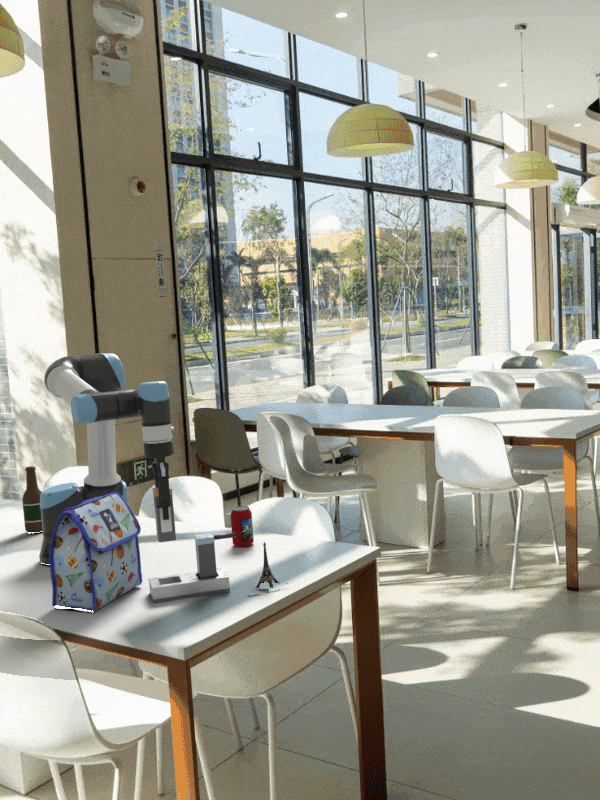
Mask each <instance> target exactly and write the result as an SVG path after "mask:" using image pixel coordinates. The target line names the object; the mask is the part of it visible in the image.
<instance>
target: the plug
mask: <svg viewBox="0 0 600 800" xmlns="http://www.w3.org/2000/svg"><path fill="white" fill-rule="evenodd" d="M169 490H170V502H171V506H170V511H171V522H172V531H170V532H163V533H162V532H161V521H160V509H159V508H157V506H160V501H159V490H158V487H152V494H153V502H154V503H153V504H154V505H153V506H154V515H155V517H154V518H155V529H156V538H157V541H158V543H165V542H172V541H176V540H177V537H176V536H177V535H176V534H177V533H176V523H175V512H174V501H173V499H174V498H173V487H171V486H170V485H169ZM164 502H165V501H164Z"/></svg>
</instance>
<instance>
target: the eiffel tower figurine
mask: <svg viewBox="0 0 600 800" xmlns="http://www.w3.org/2000/svg"><path fill="white" fill-rule="evenodd" d="M262 546H263V566H262V572H261V575H260V576H259V580H258V583H257V585H256V587H255V588H259V587H260V584H261V583H264V582H265V583H269V586H270V588H271V587H272V588H273V584H272V583H278V582H279V581H278V580H277V579H276V577H275V576H274V575H275V574H274V573H272V570H271V568H270V566H269V561H268V552H267V547H266V546H267V544H266V542H265V541H264V542H263V543H262Z"/></svg>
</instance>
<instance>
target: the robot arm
mask: <svg viewBox="0 0 600 800" xmlns="http://www.w3.org/2000/svg"><path fill="white" fill-rule="evenodd" d="M43 379H44V380H43V381H44V385H45V387H46V389H47V391H48V392H49V393H51V394H52V396H53V397H54V396H55V397H56V398H61V399H63V400H64V401H65V402H66V403H68V404H69V405H70V413H71V416H72V419H73V421H74V422H75V423H77V424H86V430H87V431H86V437H87V439H86V440H87V465H88V466H87V468H88V470H87V471H88V473H87V475H86V476H85V477H84V478H83V485H81V486H79V485H78V484H77V483H75V482H67V483H60V484H57V485H54V486H50V487H48V488H46V489H45V490H43V491H41V492H42V493H41V495H40V509H41V518H42V528H43V533H42V537H43V538H42V541H41V542H42V543H41V546H40V551H39V555H38V556H39V563H40V562H42V563H45V564H50V545H51V539H52V535H53V532H54V530H55V528H56V525H57V521H58V518H59V516H60V514H61V513H62V512H64V511H66V510H65V508H70V507H74V506H77V505H79V504H81V503H82V502H84V501H85V500H89V499H92V498H95V497H99V496H104V495H107V494H110V493H112V492H118V493H119V494H120V495H121V496H122V497H123V499H124V500H125V502H126V503H127V504H128V502H129V492H128V487H127V484H126V482H125V481H124V480H122V477H121V475H120V474H118V473H117V464H116V463H117V461H116V460H117V455H116V452H117V451H116V449H117V448H116V420H124V419H132V418H140V419H141V430H142V440H143V442H144V444H143V451H144V452H143V453H144V457H145V458H147V459H153V462H152V463H151V468H152V473H153V479H154V486H155V487H158V490H159V501H160V506H157V508H159V509H160V521H161V532H162V533H163V532H170V531H172V522H171V511H170V506H171V502H170V490H169V486H170V475H169V469H170V465H169V463H168V461H166V457H172V456H174V452H175V451H174V442H173V441H172V440H171V439H173V433H172V431H174V430H175V427H174V426H172V418H171V417H172V414H171V403H170V401H171V400H170V395H171V394H170V392H169V385H168V383H167V382H166V381H162V380H158V381H157V380H156V381H155V380H154V381H147V382H141V383H140V384H139V385H138V387H136V388H135V387H134V388H131V389H125V387H126V382H127V381H126V373H125V369H124V367H123V363H122V360H121V359H120V358H119V356H118V355H116V354H115V353H112V352H111V353H107V352H106V353H103V352H100V353H99V352H98V353H90V354H89V353H88V354H79V355H67V356H63V357H60V358H59V359H57V360H55V361H53V362H52V363H51V364H50V365H49V366H48V367H47V368H46V371H45V373H44V378H43ZM155 487H154V488H155ZM164 501H165V502H164ZM128 505H129V504H128Z"/></svg>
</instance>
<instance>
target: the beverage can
mask: <svg viewBox="0 0 600 800" xmlns="http://www.w3.org/2000/svg"><path fill="white" fill-rule="evenodd" d="M231 509H232V510H231V512H230V525H231V526H230V527H231V533H236V537H233V538H231V539H232V544H233V546H235V547H237V548H246V546H247V547H249V545H250V546H251V545H252V544H254V527H253V515H252V512H253V511H251V509H250V506H246V505H245V506H244V505H241V506H235V507H232V508H231Z"/></svg>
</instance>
